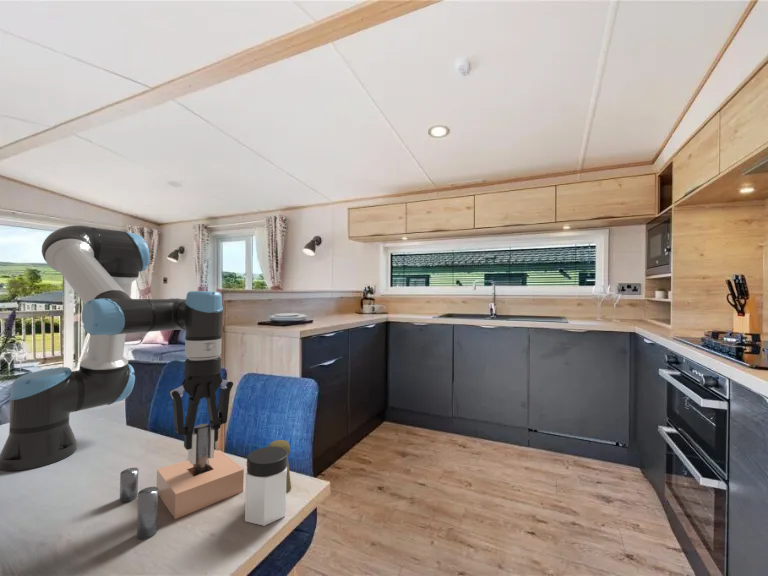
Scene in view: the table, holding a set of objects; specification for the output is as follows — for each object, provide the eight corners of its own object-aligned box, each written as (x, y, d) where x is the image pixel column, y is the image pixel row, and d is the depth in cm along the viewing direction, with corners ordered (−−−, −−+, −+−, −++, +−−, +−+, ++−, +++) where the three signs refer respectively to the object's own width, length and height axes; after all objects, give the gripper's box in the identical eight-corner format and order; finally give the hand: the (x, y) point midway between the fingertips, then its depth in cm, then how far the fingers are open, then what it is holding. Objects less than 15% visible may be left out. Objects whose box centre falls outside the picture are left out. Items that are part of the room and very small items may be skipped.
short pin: (118, 498, 76) (119, 471, 76) (135, 492, 78) (136, 466, 78) (121, 504, 74) (122, 476, 74) (139, 498, 76) (139, 471, 76)
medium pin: (134, 533, 65) (136, 490, 65) (154, 525, 67) (156, 484, 67) (137, 542, 63) (139, 498, 63) (158, 534, 65) (160, 492, 65)
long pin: (190, 478, 79) (192, 426, 79) (205, 473, 81) (206, 422, 82) (195, 484, 77) (196, 430, 77) (210, 478, 79) (211, 426, 79)
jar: (277, 495, 78) (278, 442, 78) (295, 512, 72) (296, 454, 72) (237, 512, 72) (238, 454, 72) (253, 532, 66) (254, 469, 66)
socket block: (156, 491, 79) (156, 469, 79) (219, 469, 89) (219, 449, 89) (174, 519, 69) (175, 494, 69) (243, 491, 79) (243, 469, 79)
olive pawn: (283, 498, 77) (284, 449, 77) (259, 495, 78) (260, 446, 78) (295, 484, 83) (296, 438, 83) (272, 481, 84) (273, 435, 84)
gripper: (168, 364, 71) (165, 478, 71) (244, 355, 83) (242, 453, 83) (158, 359, 76) (155, 465, 76) (231, 351, 88) (229, 443, 88)
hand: (201, 459), depth 79 cm, fingers closed on long pin, 3 cm apart
